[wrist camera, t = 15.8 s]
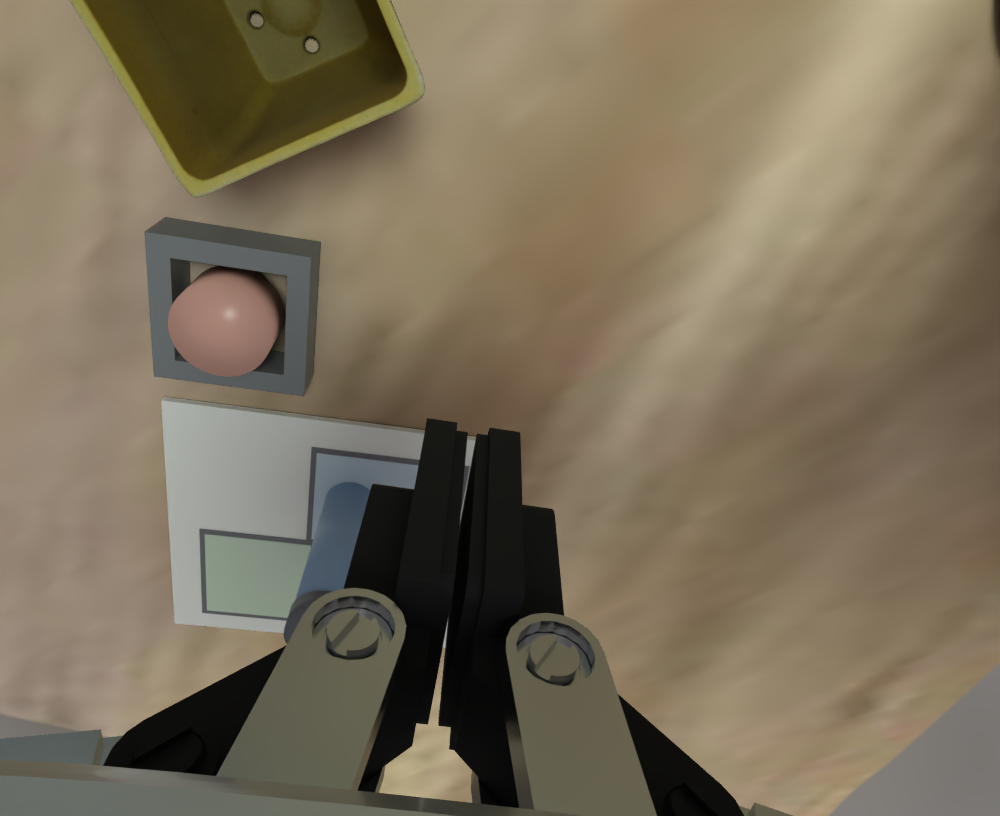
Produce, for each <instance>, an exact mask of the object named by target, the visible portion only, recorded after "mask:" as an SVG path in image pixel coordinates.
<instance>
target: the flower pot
mask: <svg viewBox="0 0 1000 816" xmlns="http://www.w3.org/2000/svg"><path fill="white" fill-rule="evenodd" d="M70 2H71V3H72V5H73V7H74V8H75V10H76V11H77V13H78V15H79V16H80V18H81V19H82V21H83V23H84V24H85V26H86V27H87V29H88V30H89V32H90V33H91V35H92V37H93V38H94V40H95V41H96V43H97V44H98V46H99V48H100V49H101V51H102V52H103V54H104V56H105V57H106V59H107V60H108V62H109V64H110V65H111V67H112V69H113V70H114V72H115V74H116V75H117V77H118V79H119V81H120V82H121V84H122V86H123V87H124V89H125V91H126V93H127V94H128V96H129V98H130V99H131V101H132V103H133V105H134V106H135V108H136V110H137V112H138V113H139V115H140V117H141V119H142V120H143V122H144V124H145V125H146V127H147V129H148V131H149V132H150V134H151V136H152V137H153V139H154V141H155V142H156V144H157V145H158V147H159V149H160V151H161V153H162V154H163V156H164V158H165V160H166V162H167V163H168V165H169V167H170V169H171V170H172V172H173V173H174V175H175V176H176V178H177V179H178V180H179V182H180V183H181V185H182V186H183V187H184V188H185V189H186V191H187V192H188V193H189V194H190V195H191V196H194V197H202V196H205V195H208V194H210V193H212V192H215V191H217V190H219V189H221V188H223V187H225V186H227V185H229V184H232V183H234V182H236V181H238V180H240V179H242V178H245V177H247V176H250V175H252V174H254V173H256V172H258V171H260V170H263V169H265V168H267V167H269V166H272V165H274V164H276V163H278V162H280V161H283V160H285V159H287V158H290V157H292V156H294V155H297V154H299V153H301V152H304V151H306V150H308V149H311V148H313V147H315V146H317V145H320V144H322V143H324V142H327V141H329V140H331V139H334V138H336V137H338V136H340V135H342V134H345V133H347V132H349V131H352V130H354V129H356V128H359V127H361V126H364V125H366V124H368V123H371V122H373V121H375V120H377V119H379V118H382V117H384V116H387V115H389V114H392V113H394V112H396V111H399V110H401V109H403V108H405V107H407V106H409V105H411V104H413V103H415V102H417V101H418V100H419V99H420V98H421V97H422V96H423V94H424V90H425V85H424V80H423V76H422V73H421V71H420V68H419V66H418V64H417V61H416V59H415V57H414V55H413V52H412V50H411V48H410V46H409V43H408V41H407V38H406V36H405V34H404V31H403V29H402V26H401V24H400V22H399V19H398V17H397V14H396V12H395V9H394V7H393V4H392V2H391V0H70ZM252 12H259V13H260V14H261V15H262V16H263V19H264V23H263V25H262V26H261V27H254V26H253V25H252V24H251V23H250V19H249V18H250V15H251V13H252ZM308 37H313V38H315V39H316V40H317V41H318V44H319V48H318V50H317V51H316V52H313V53H312V52H309V51H308V50H306V48H305V40H306V39H307V38H308Z"/></svg>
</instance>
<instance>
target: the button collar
mask: <svg viewBox="0 0 1000 816" xmlns="http://www.w3.org/2000/svg"><path fill="white" fill-rule="evenodd" d="M145 246H146V261H147V277H148V292H149V308H150V323H151V339H152V354H153V370H154V376H155V377H163V378H170V379H178V380H185V381H193V382H200V383H208V384H216V385H223V386H231V387H238V388H246V389H254V390H261V391H269V392H276V393H284V394H291V395H299V396H304V395H305V393H306V390H307V388H308V386H309V383H310V381H311V378H312V376H313V371H314V353H315V335H316V318H317V300H318V282H319V264H320V247H321V242H318V241H312V240H305V239H299V238H293V237H286V236H280V235H274V234H268V233H261V232H255V231H249V230H242V229H236V228H230V227H223V226H217V225H211V224H204V223H198V222H192V221H185V220H179V219H173V218H167V217H165V218H163V219H162V220H161V221H159V222H158V223H156V224H155V225H154V226H152V227H151V228H149V229H148V230H146V231H145ZM189 261H193V262H200V263H206V264H213V265H220V266H226V267H233V268H239V269H246V270H253V271H259V272H266V273H272V274H279V275H285V276H287V295H286V324H285V352H277V351H269V353H268V355H267V356H266V358H265V360H264V361H263V362H262V363H261V364H260V365H259V366H258V367H257V368H256V369H254V370H252V371H251V372H248V373H246V374H243V375H240V376H233V377H224V376H217V375H212V374H209V373H206V372H204V371H202V370H200V369H198V368H196V367H194V366H193V365H192V364H190V363H189V362H188V361H187V360H185V359H184V358H183V357H182V356H181V354H180V353H179V352H178V351H177V349H176V348H175V346H174V344H173V342H172V340H171V338H170V334H169V330H168V315H169V311H170V308H171V306H172V304H173V302H174V301H175V300H176V299H177V297H178V296H179V295H180V294H181V293H182V292H183V291H184V290H185V289H186V288H187V287H188V286H189V285H190V266H189Z"/></svg>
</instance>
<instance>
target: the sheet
mask: <svg viewBox="0 0 1000 816" xmlns="http://www.w3.org/2000/svg"><path fill="white" fill-rule="evenodd" d="M161 403H162V419H163V436H164V453H165V469H166V486H167V503H168V519H169V536H170V553H171V569H172V586H173V603H174V619H175V623H177V624H188V625H199V626H210V627H221V628H232V629H243V630H254V631H265V632H276V633H284V628H285V624H286V621H287V618H288V615H289V611H290V608H291V606H292V604H293V602H294V601H295V599H296V596H297V592H298V589H299V586H300V582H301V579H302V576H303V572H304V569H305V566H306V562H307V559H308V555H309V552H310V549H311V545H312V542H313V539H314V535H315V532H316V529H317V525H318V522H319V519H320V515H321V512H322V509H323V505H324V502H325V498H326V495H327V493H328V492H329V490H330V489H331V488H332V487H334V486H335V485H337V484H340V483H344V482H354V483H358V484H361V485H363V486H365V487H366V488H368V489H369V490H371V487H372V484H380V485H387V486H394V487H401V488H408V489H414V487H415V482H416V476H417V471H418V466H419V460H420V455H421V449H422V444H423V439H424V433H425V430H420V429H412V428H404V427H396V426H389V425H381V424H373V423H365V422H357V421H350V420H342V419H334V418H326V417H319V416H311V415H303V414H295V413H288V412H280V411H272V410H264V409H256V408H249V407H241V406H233V405H225V404H218V403H210V402H202V401H194V400H187V399H179V398H171V397H164V398H163V399H162V400H161ZM475 440H476V437H474V436H467V447H466V459H465V470H464V482H463V493H462V504H461V516H462V510H463V505H464V500H465V494H466V489H467V483H468V478H469V473H470V467H471V462H472V457H473V451H474V446H475ZM461 516H460V521H461ZM447 625H448V621H447ZM446 636H447V627H446V632H445V637H444V642H443V648H445V647H446Z"/></svg>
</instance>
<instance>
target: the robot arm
mask: <svg viewBox="0 0 1000 816" xmlns="http://www.w3.org/2000/svg"><path fill="white" fill-rule="evenodd" d="M456 429H457V423H456V422H449V421H442V420H436V419H429V418H427V422H426V428H425V433H424V439H423V444H422V449H421V455H420V460H419V466H418V471H417V476H416V482H415V487H414V489H408V488H401V487H394V486H387V485H380V484H372V487H371V490H370V493H369V497H368V501H367V504H366V508H365V512H364V515H363V519H362V523H361V526H360V530H359V534H358V537H357V541H356V545H355V548H354V552H353V556H352V559H351V563H350V567H349V570H348V574H347V578H346V581H345V585H344V589H339V590H336V591H333V592H330V593H327V594H325V595H323V596H322V597H320V598H319V599H317V600H316V601H314V602H313V603H312V604H311V605H310V606H309V608H308V609H307V610H306V611H305V613H304V614H303V616H302V618H301V620H300V621H299V623H298V625H297V627H296V629H295V631H294V633H293V634H292V636H291V638H290V640H289V642H288V644H287V645H286V646H284V647H283V648H281V649H279V650H277V651H275V652H273V653H271V654H269V655H267V656H265V657H263V658H262V659H260V660H258V661H256V662H254V663H252V664H250V665H248V666H246V667H244V668H242V669H241V670H239V671H237V672H235V673H233V674H231V675H229V676H227V677H225V678H223V679H222V680H220V681H218V682H216V683H214V684H212V685H210V686H208V687H206V688H204V689H202V690H201V691H199V692H197V693H195V694H193V695H191V696H189V697H187V698H185V699H183V700H181V701H180V702H178V703H176V704H174V705H172V706H170V707H168V708H166V709H164V710H162V711H160V712H159V713H157V714H155V715H153V716H151V717H149V718H147V719H145V720H144V721H142V722H141V723H139V724H138V725H136V726H135V727H133V728H132V729H130V730H129V731H127V732H126V733H125V734H124V735H123V736H117V737H106V738H102V733H101V730H91V731H80V732H69V733H59V734H48V735H37V736H27V737H16V738H5V739H0V816H792V815H789V814H786V813H783V812H781V811H778V810H775V809H772V808H769V807H766V806H763V805H760V804H757V803H754V805H753V806H752V808H751V810H750V809H747V808H744V807H741V806H739V805H738V804H737V802H736V800H735V799H734V798H733V797H732V796H731V795H730V794H729V793H728V792H727V790H726V789H725V788H724V787H723V786H722V785H721V784H720V783H719V782H717V781H716V780H715V779H714V778H713V777H712V776H711V775H709V774H708V773H707V772H706V771H705V770H704V769H703V768H701V767H700V766H699V765H698V764H697V763H696V762H695V761H694V760H692V759H691V758H690V757H689V756H688V755H687V754H686V753H684V752H683V751H682V750H681V749H680V748H679V747H678V746H676V745H675V744H674V743H673V742H672V741H671V740H670V739H668V738H667V737H666V736H665V735H664V734H663V733H662V732H660V731H659V730H658V729H657V728H656V727H655V726H654V725H653V724H651V723H650V722H649V721H648V720H647V719H646V718H645V717H643V716H642V715H641V714H640V713H639V712H638V711H637V710H635V709H634V708H633V707H632V706H631V705H630V704H629V703H627V702H626V701H625V700H624V699H623V698H622V697H621V696H619V695H618V694H617V690H616V687H615V684H614V681H613V678H612V675H611V672H610V669H609V666H608V663H607V659H606V656H605V653H604V651H603V649H602V647H601V645H600V643H599V641H598V639H597V638H596V637H595V636H594V635H593V634H592V633H591V632H590V631H589V629H587V628H586V627H584V626H583V625H581V624H580V623H578V622H577V621H575V620H573V619H571V618H568V617H565V616H564V610H563V600H562V589H561V578H560V567H559V556H558V545H557V534H556V523H555V515H554V511H553V509H548V508H541V507H534V506H527V505H522V478H521V445H520V432H515V431H509V430H502V429H495V428H490V429H489V432H488V435H482V434H477V436H476V440H475V446H474V451H473V457H472V462H471V467H470V473H469V478H468V483H467V489H466V494H465V500H464V505H463V510H462V516H461V504H462V493H463V482H464V470H465V459H466V447H467V436H468V432H462V431H456ZM460 516H461V521H460ZM447 621H448V625H447ZM446 627H447V636H446V647H445V658H444V668H443V679H442V690H441V701H440V711H439V726H446V727H451V733H450V746H449V749H451V750H455V752H456V753H457V754H458V755H459V756H460V757H461V758H462V759H463V761H464V762H465V763H466V764H467V765H468V766H469V767H470V768H471V769H472V775H471V794H472V803H467V802H458V801H449V800H440V799H430V798H421V797H412V796H402V795H393V794H384V793H379V790H380V787H381V784H382V781H383V778H384V771H385V765H386V764H388V763H389V762H390V761H392V760H393V759H394V758H396V757H397V756H399V755H400V754H401V753H403V752H404V751H406V750H407V749H408V748H410V747H411V746H412V743H413V738H414V732H415V727H416V723H420V724H428V721H429V715H430V710H431V705H432V700H433V695H434V689H435V684H436V679H437V674H438V668H439V663H440V658H441V653H442V648H443V642H444V637H445V632H446Z"/></svg>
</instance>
